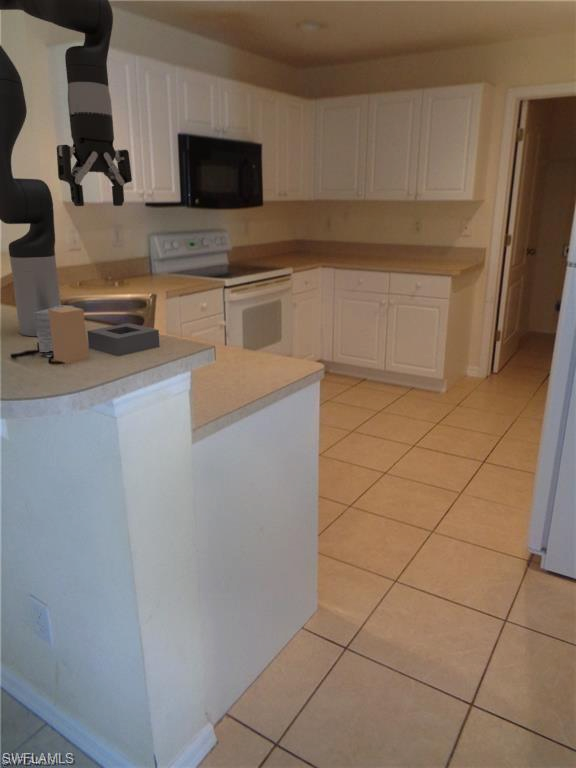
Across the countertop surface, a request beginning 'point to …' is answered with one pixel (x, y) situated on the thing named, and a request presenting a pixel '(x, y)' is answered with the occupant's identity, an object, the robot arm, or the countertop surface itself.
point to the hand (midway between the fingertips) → (99, 206)
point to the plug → (68, 334)
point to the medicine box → (45, 329)
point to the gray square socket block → (123, 339)
